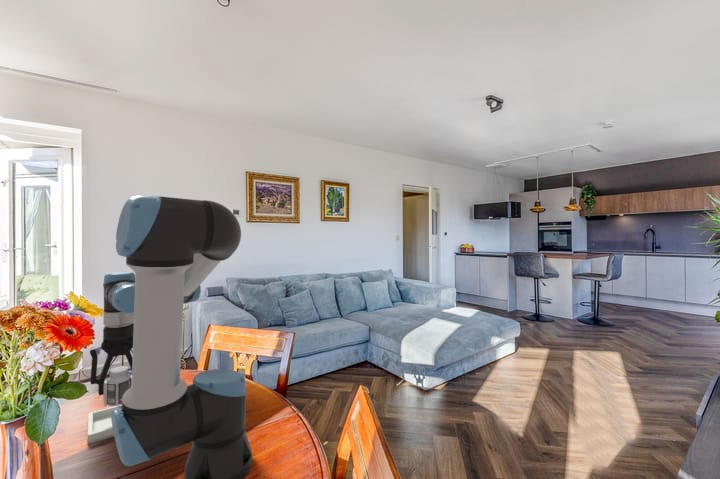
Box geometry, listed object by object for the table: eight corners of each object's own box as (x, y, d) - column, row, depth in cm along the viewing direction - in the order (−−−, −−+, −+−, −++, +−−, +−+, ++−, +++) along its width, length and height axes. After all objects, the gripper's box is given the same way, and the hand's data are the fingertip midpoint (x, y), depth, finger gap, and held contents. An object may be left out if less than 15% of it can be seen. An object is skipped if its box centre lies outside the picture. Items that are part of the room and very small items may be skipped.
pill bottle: (130, 395, 100) (131, 363, 100) (130, 403, 95) (130, 370, 95) (107, 400, 97) (108, 367, 97) (105, 409, 92) (105, 374, 92)
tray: (149, 425, 95) (149, 417, 95) (87, 444, 86) (87, 435, 86) (144, 406, 106) (144, 398, 106) (88, 420, 97) (88, 412, 97)
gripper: (154, 316, 105) (153, 387, 105) (78, 326, 93) (77, 405, 93) (158, 322, 99) (157, 396, 99) (77, 332, 87) (76, 417, 87)
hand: (118, 400), depth 96 cm, fingers closed on pill bottle, 6 cm apart
